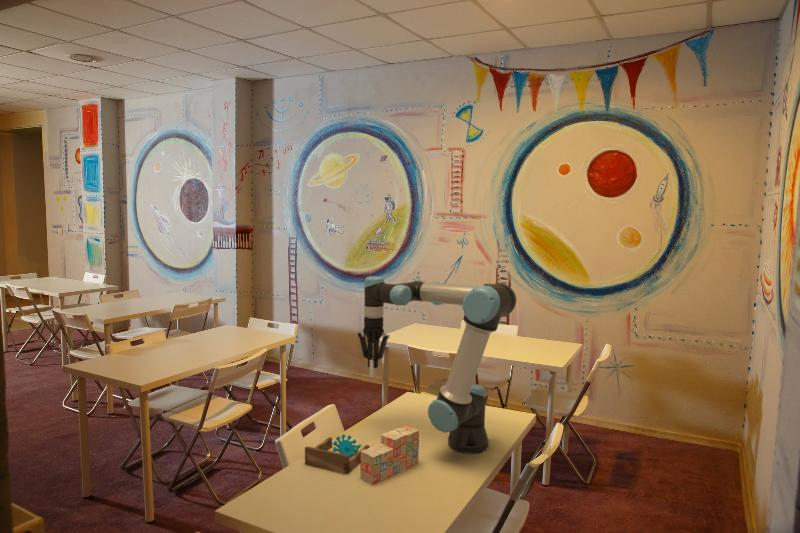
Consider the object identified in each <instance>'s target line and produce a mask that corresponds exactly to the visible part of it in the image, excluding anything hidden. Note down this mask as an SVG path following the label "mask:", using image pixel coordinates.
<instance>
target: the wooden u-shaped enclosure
mask: <svg viewBox="0 0 800 533" xmlns="http://www.w3.org/2000/svg"><path fill="white" fill-rule="evenodd" d="M332 447H333V437H331V436H330V437H327V438H326V439H325V440H323V441H322V442H321V443H319V444H317V445H316V446H315V447H313V446H307V445H306V446H305V447H304V465H305V466H311V467H315V468H319V469H324V470H327V471H331V472H337V473H340V474H345V475H348V474H350V472H352V471H353V470H354V469H355V468H356V467H357V466H359V465H360V463H361V451H363V450H366V449H368V448H370V444H365V445H364V446H363V447H361V448H360V450H359V449H358V452H357V453H356V454H355V453H354V456H352V455H351V458H350V459H349V455H346V454H341V453H340V452H337V451H335V452H334V451H333V450H332V451H330V449H331V448H332Z"/></svg>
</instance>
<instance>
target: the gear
mask: <svg viewBox="0 0 800 533" xmlns="http://www.w3.org/2000/svg"><path fill="white" fill-rule="evenodd" d="M346 437H347V438H346ZM345 438H346V439H345ZM352 438H353V437H352V436H351V435H350V434H349V435H348V436H346V434H344V433H343V434H342V435H341V436H336V438H335V440H334V441H333V442H332V446H334V447H333V448H332V452H337V453H341V454H346V455H349V459H350V458H351V457H352V456H354V455H355V454H356V453H357V452H358V451H359V449H361V448H362V444H361V443H359V444H357V445H355V444H356V443H357V439H355V438H354V439H352Z"/></svg>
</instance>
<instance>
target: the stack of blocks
mask: <svg viewBox="0 0 800 533" xmlns="http://www.w3.org/2000/svg"><path fill="white" fill-rule="evenodd" d="M380 436H381V437H380V443H378V444H377V445H373V446H371V447H369V448H368V449H366V450H363V451H361V463H359V465H360V472H359V473H360V475H359V476H360V479H361V480H364V481H365V482H367V483H369V484H371V485H375V484H377V483H379V482H382V481H384V480H386V479H389V478H391V477H393V476H396V475H397V474H399V473H402V472H404V471H407V470H409V469H411V468H413V467H415V466H418V465H419V452H420V451H419V449H420V431H419V429H416V428H414V427H411V426H408V425H404V426H402V427H397V428H394V429H392V430H390V431H387V432H385V433H382V434H381V435H380Z"/></svg>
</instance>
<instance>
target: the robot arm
mask: <svg viewBox="0 0 800 533" xmlns="http://www.w3.org/2000/svg"><path fill="white" fill-rule="evenodd" d="M363 288H364V290H363V291H364V292H363V293H364V294H363V295H364V305H363V307H364V309H363V310H364V311H363V316H364V317H363V330H362V331H361V332H358V333H357V336H358V338H359V342H360V347H361V351H362V356H363V358H366V359H367V367H368V368H369V377H370V378H371V377H372V378H374V377H376V376H377V368H378V367H379V360H381V359H383V358H384V354H385V351H386V347H387V343H388V340H389V338H390V335H388V334H386V333H385V330H384V317H383V316H384V304H390V305H396V306H407V305H408V304H409V303H410V302H423V303H425V302H426V303H428V302H429V303H434V304H435V303H436V304H445V305H446V304H447V305H454V306H455V305H456V306H462V310H463V314H464V316H463V321H464V323H465V327H464V330H463V333H462V336H461V339H460V342H459V344H458V348H457V351H456V354H455V358H454V360H453V363H452V367H451V369H450V372H449V375H448V377H447V381H446V384H443V385H442V386H441V387H440V388H439V391H438V394H437V397H436V399H435V400H432V402H431V403H430V404H429V405H428V408H427V415H428V419H429V420H430V423H431V425H432V426H433V427H434V428H435V429H436V430H437V431H439V432H441V433H449V435H448V438H447V441H448V442H447V444H448V446H449V447H450V448H451V449H452V450H455V451H456V452H460V453H465V454H478V453H477V452H479V453H483V452H485V451H487V450H488V449H489V447H488V446H489V444H490V443H489V442H490V441H489V437H488V434H487V429H486V427H485V425H486V423H485V421H486V401H487V400H486V399H487V394H486V393H487V391H486V388H485V387H484V386H482V385H480V384H477V383H475V382H474V381H475V378H476V376H477V374H478V370H479V368H480V364H481V361H482V359H483V356H484V353H485V350H486V347H487V345H488V341H489V338H490V336H491V334H492V333H494V332H497V331H498V328H499V324H500V323H501V322H500V321H501V319H502V318H503V317H506V316H508V315H510V314H511V313H512V312H513V311H514V309H515V308H516V305H517V295H516V293H515V291H514V290H513V288H512V287H511V286H509V285H507V284H506V283H502V282H499V283H498V282H497V283H483V284H482V285H470V284H469V285H468V284H456V283H453V284H452V283H440V282H425V281H422V280H413V281H409V282H401V283H386V282H385V278H384V277H382V276H367V277H366V278H365V279H364V287H363ZM380 340H381V342H380ZM487 448H488V449H487ZM486 449H487V450H486ZM484 450H485V451H484ZM482 451H483V452H482Z"/></svg>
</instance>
